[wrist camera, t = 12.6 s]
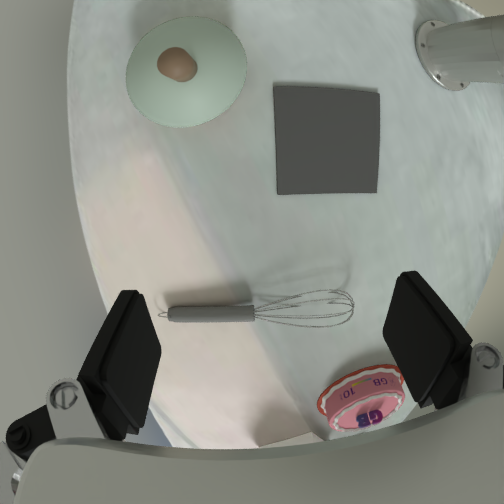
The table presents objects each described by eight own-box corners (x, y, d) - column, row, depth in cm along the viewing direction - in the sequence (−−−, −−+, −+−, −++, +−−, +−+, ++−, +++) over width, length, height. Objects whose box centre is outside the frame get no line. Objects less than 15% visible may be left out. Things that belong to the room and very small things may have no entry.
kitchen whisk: (155, 296, 47) (146, 320, 41) (350, 279, 46) (362, 301, 41) (164, 323, 49) (157, 347, 44) (346, 307, 49) (357, 330, 44)
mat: (378, 93, 32) (379, 93, 31) (375, 192, 39) (376, 193, 38) (273, 86, 32) (273, 86, 31) (277, 194, 39) (277, 194, 38)
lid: (243, 13, 23) (244, -6, 18) (249, 121, 29) (251, 122, 24) (127, 32, 23) (107, 20, 18) (132, 135, 29) (112, 141, 24)
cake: (409, 351, 57) (426, 383, 48) (396, 400, 69) (407, 427, 59) (312, 381, 59) (321, 418, 50) (319, 423, 71) (325, 452, 61)
